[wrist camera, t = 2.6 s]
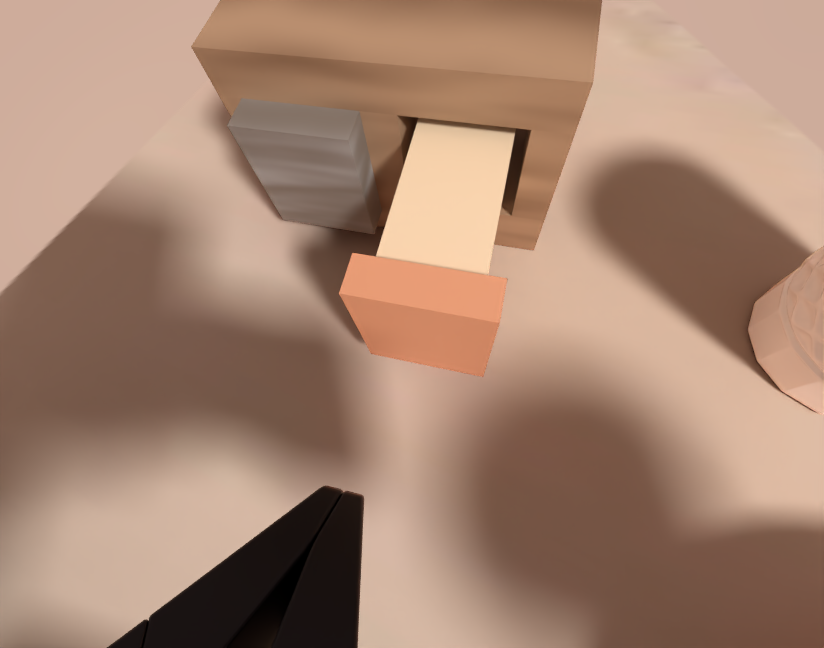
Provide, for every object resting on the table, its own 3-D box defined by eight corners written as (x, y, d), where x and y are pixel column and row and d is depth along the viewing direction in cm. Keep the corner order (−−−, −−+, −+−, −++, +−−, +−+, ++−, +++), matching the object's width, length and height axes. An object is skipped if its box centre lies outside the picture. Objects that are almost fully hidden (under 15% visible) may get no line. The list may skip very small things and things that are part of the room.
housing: (530, 275, 21) (589, 117, 12) (276, 233, 23) (173, 75, 14) (550, 135, 24) (608, -66, 16) (327, 111, 27) (269, -78, 18)
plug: (483, 376, 18) (499, 322, 12) (371, 353, 18) (338, 293, 13) (515, 196, 21) (539, 90, 16) (419, 183, 22) (410, 78, 16)
